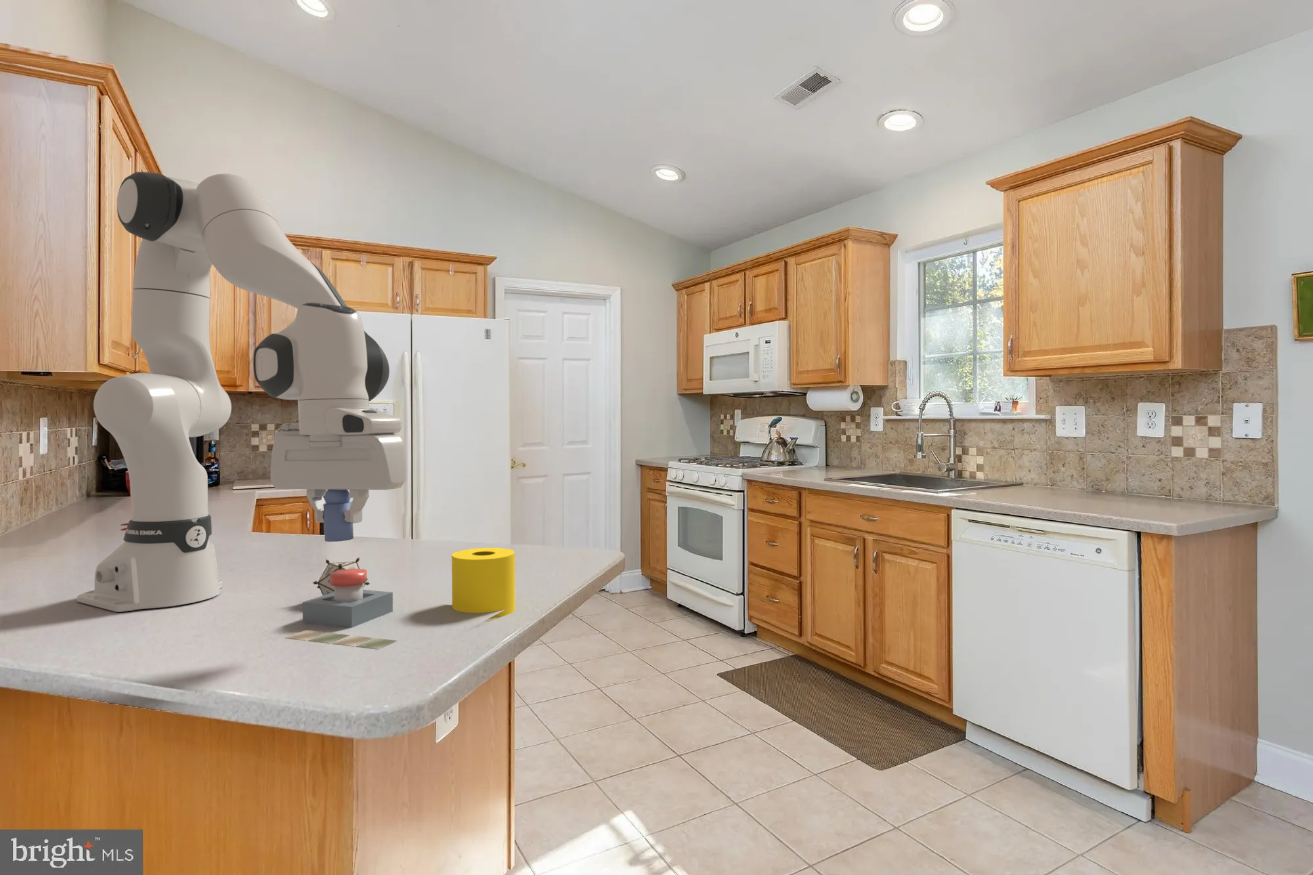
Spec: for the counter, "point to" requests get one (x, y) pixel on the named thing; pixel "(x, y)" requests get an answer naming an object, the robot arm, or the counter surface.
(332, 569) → the game die
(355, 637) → the track board
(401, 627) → the counter surface
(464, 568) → the yellow hollow cylinder
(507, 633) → the counter surface
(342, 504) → the pawn
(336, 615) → the base
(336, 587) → the plunger
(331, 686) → the counter surface
